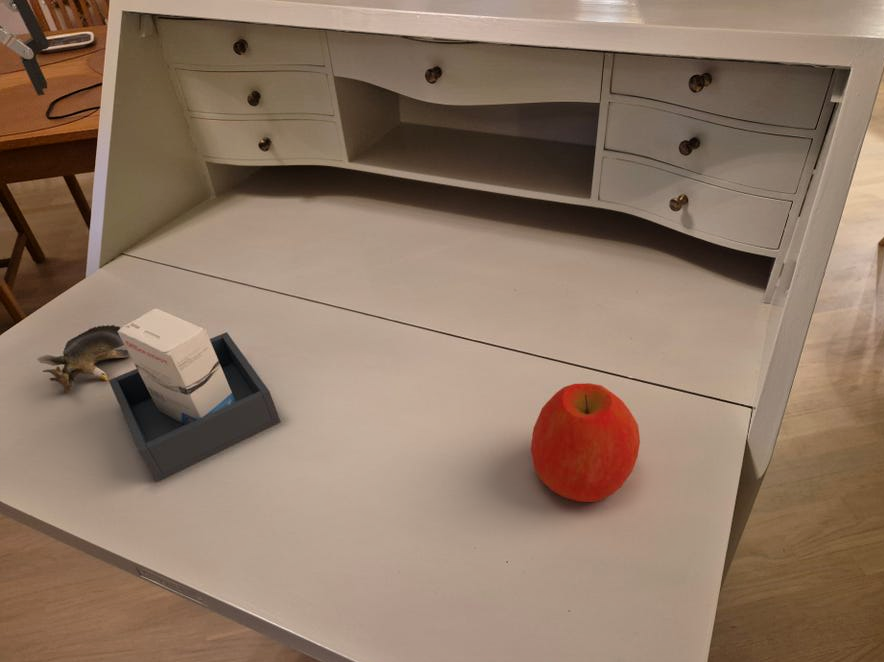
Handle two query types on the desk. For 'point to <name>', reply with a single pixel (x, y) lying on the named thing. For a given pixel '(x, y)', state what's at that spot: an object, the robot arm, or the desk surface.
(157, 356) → the ink box
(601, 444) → the apple
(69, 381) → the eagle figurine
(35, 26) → the robot arm
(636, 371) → the desk surface
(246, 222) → the desk surface
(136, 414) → the tote
